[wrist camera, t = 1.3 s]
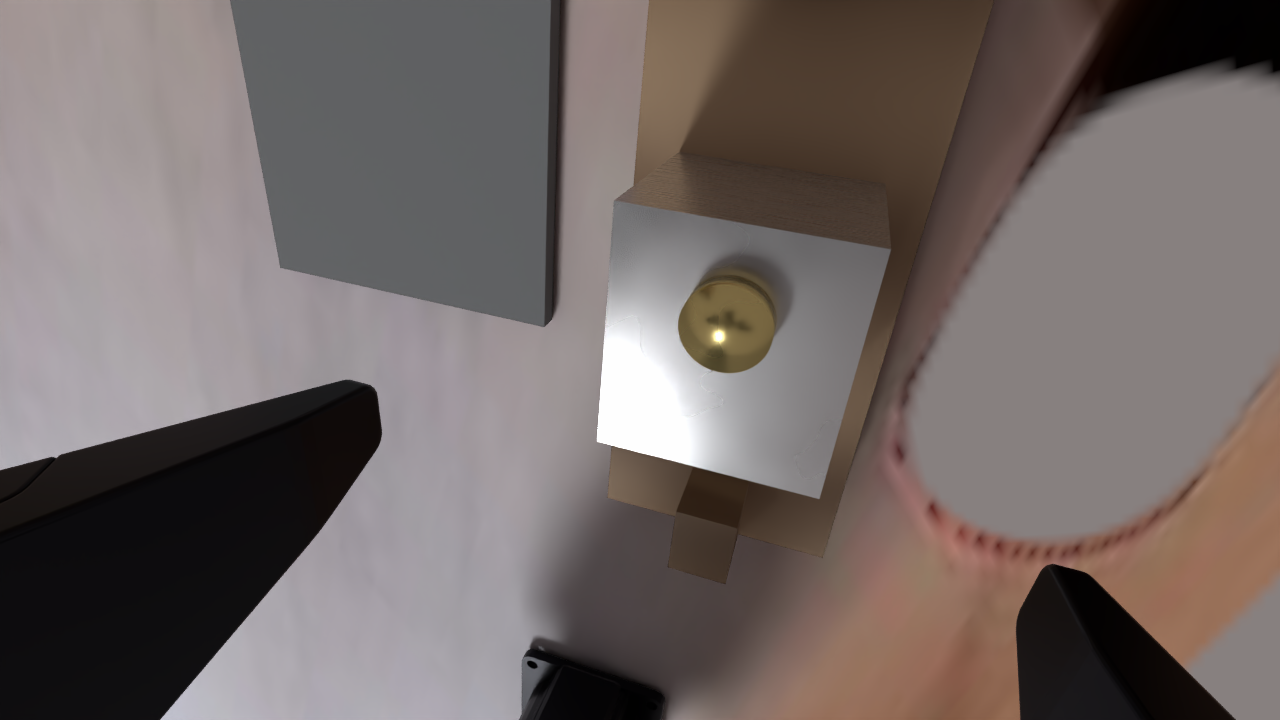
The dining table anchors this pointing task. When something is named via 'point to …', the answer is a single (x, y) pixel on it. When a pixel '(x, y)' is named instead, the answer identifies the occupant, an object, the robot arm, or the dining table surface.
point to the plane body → (807, 141)
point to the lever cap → (739, 315)
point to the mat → (410, 144)
